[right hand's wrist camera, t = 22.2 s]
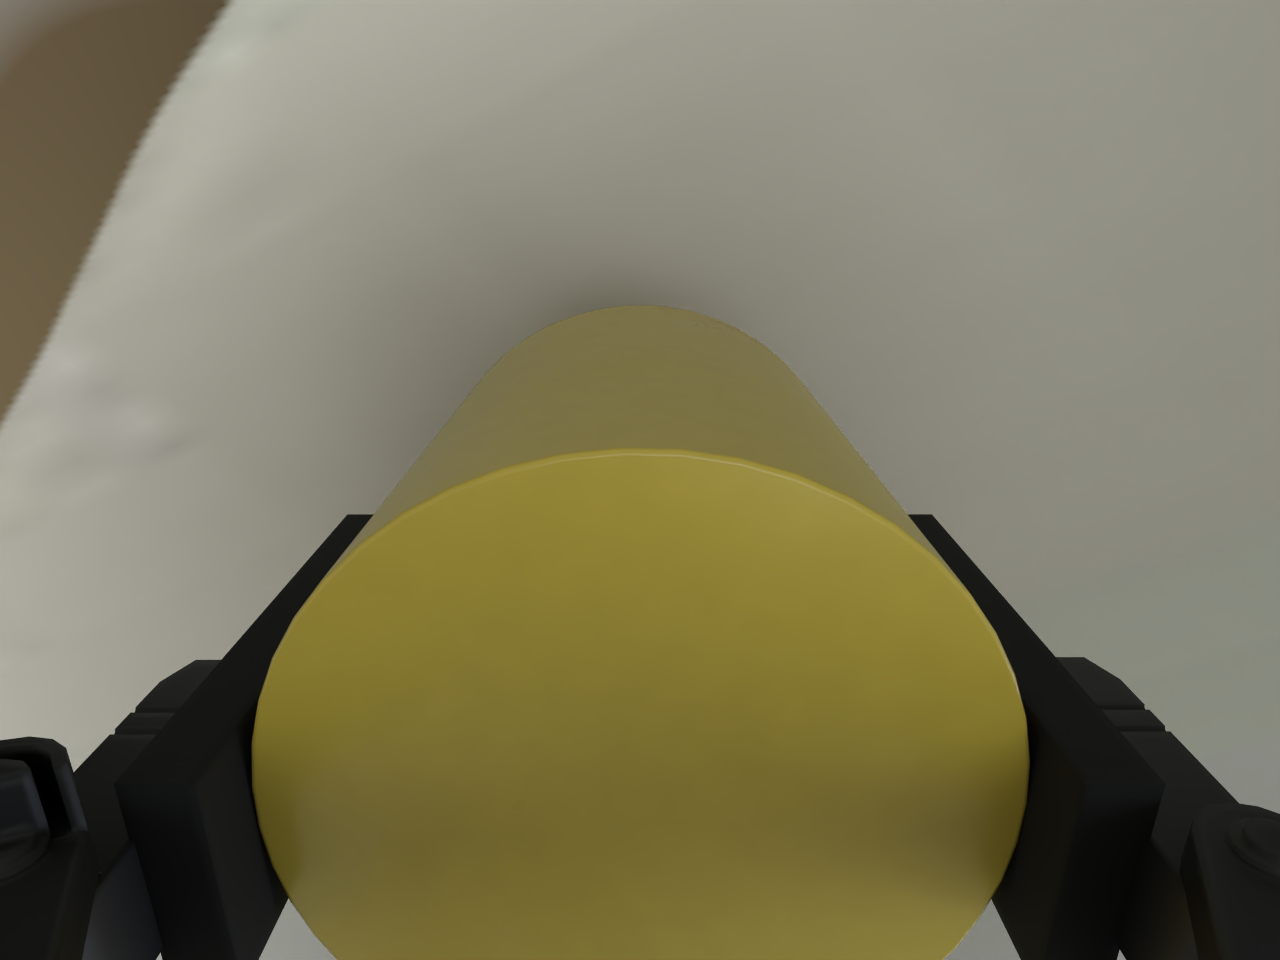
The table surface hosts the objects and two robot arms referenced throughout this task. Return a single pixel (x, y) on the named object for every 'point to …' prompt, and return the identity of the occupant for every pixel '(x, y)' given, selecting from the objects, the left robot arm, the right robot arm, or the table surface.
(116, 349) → the table surface
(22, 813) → the right robot arm
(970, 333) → the table surface
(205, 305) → the table surface
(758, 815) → the canister
